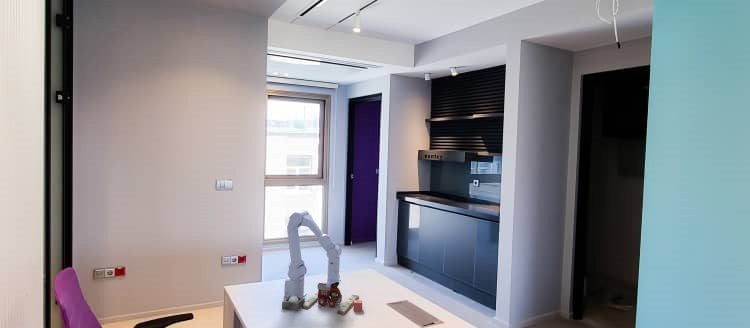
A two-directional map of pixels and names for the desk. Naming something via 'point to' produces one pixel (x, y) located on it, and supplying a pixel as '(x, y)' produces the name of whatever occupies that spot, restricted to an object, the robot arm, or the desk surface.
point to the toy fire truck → (325, 295)
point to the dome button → (293, 299)
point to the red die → (357, 305)
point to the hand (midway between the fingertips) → (332, 296)
